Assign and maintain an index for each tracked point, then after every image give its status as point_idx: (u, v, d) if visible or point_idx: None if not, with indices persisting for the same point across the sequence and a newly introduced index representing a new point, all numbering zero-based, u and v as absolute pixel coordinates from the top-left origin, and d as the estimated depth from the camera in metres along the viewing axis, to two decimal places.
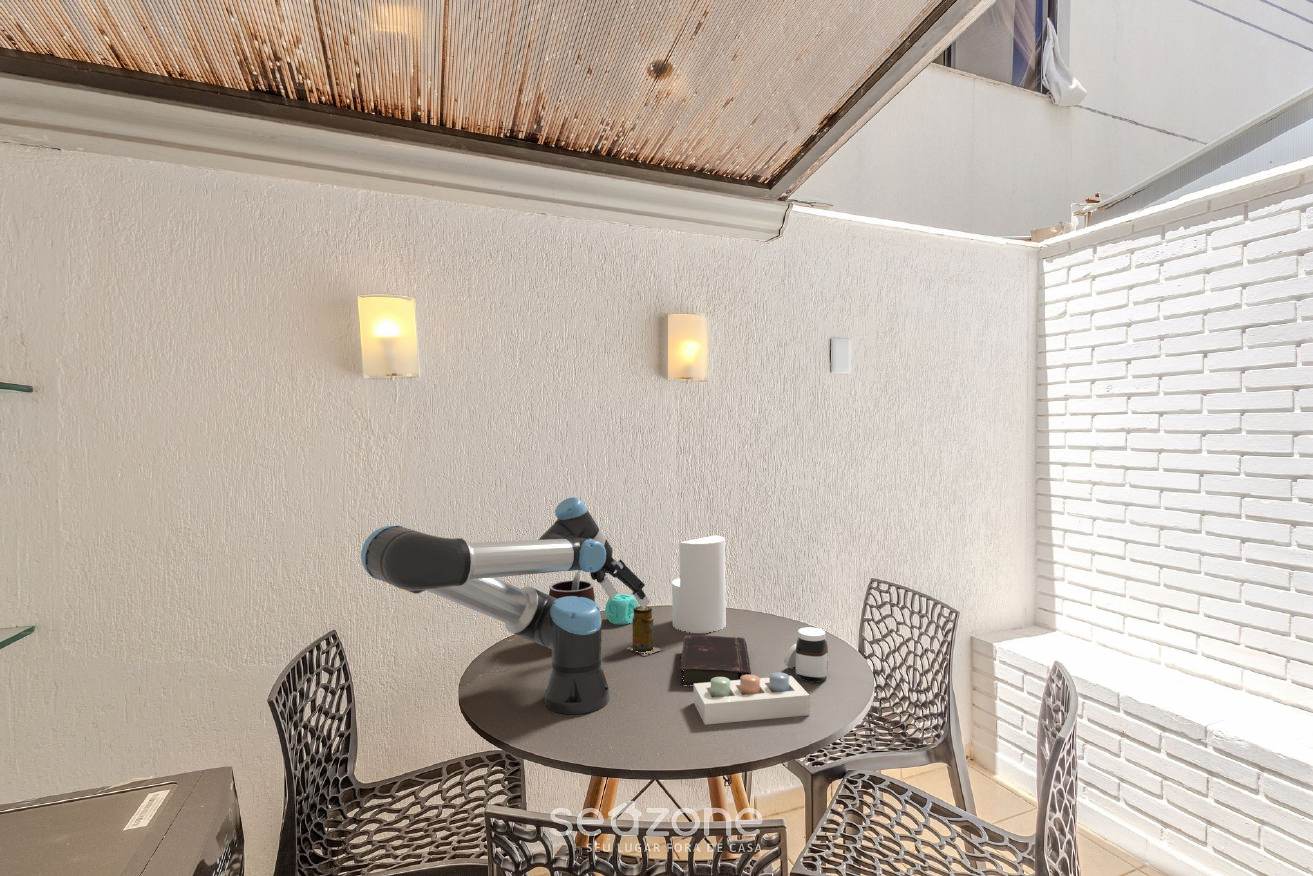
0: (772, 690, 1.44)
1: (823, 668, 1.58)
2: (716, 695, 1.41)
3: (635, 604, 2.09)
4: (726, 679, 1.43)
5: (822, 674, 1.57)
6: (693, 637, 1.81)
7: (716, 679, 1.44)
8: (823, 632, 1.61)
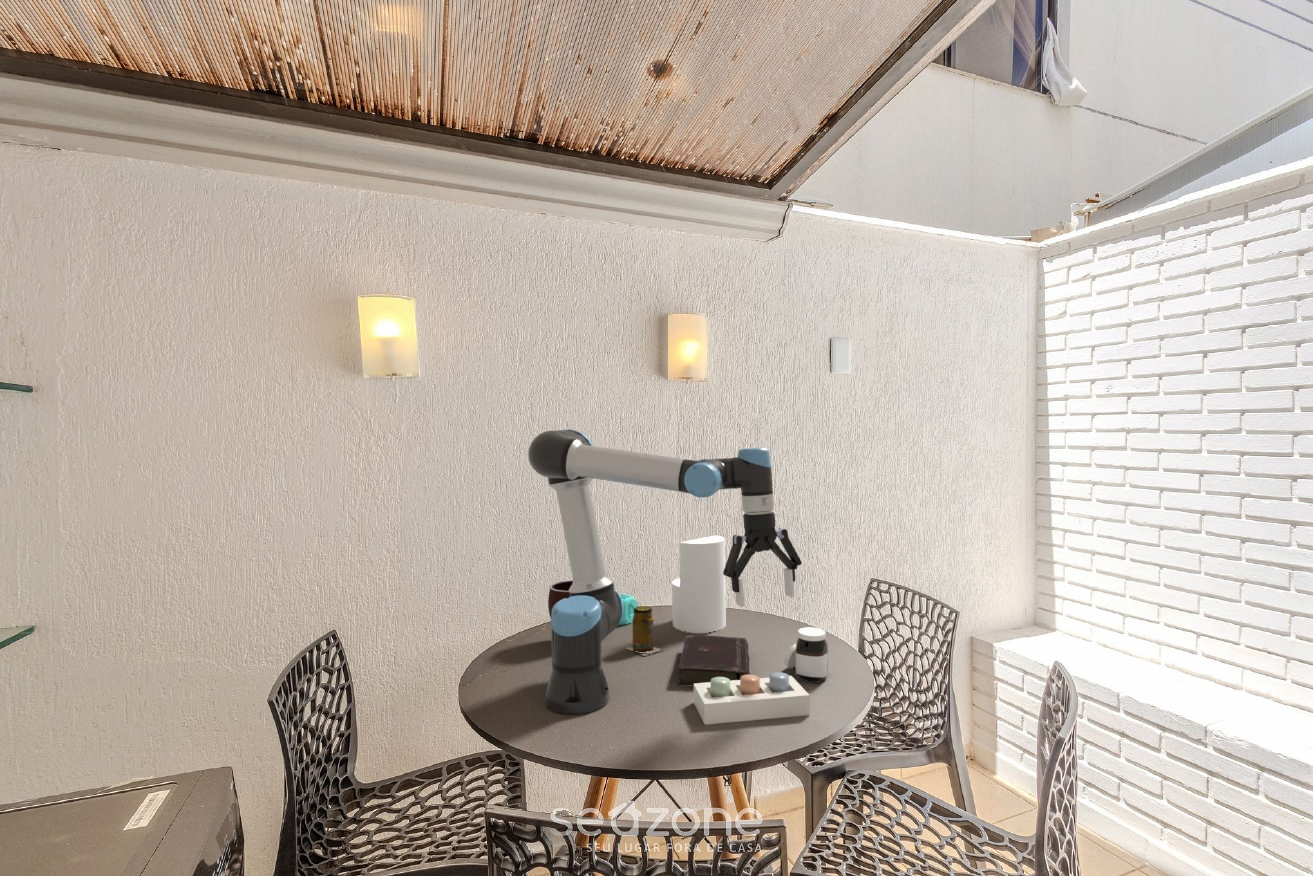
0: (772, 690, 1.44)
1: (823, 668, 1.58)
2: (716, 695, 1.41)
3: (635, 604, 2.09)
4: (726, 679, 1.43)
5: (822, 674, 1.57)
6: (694, 636, 1.81)
7: (716, 679, 1.44)
8: (823, 632, 1.61)
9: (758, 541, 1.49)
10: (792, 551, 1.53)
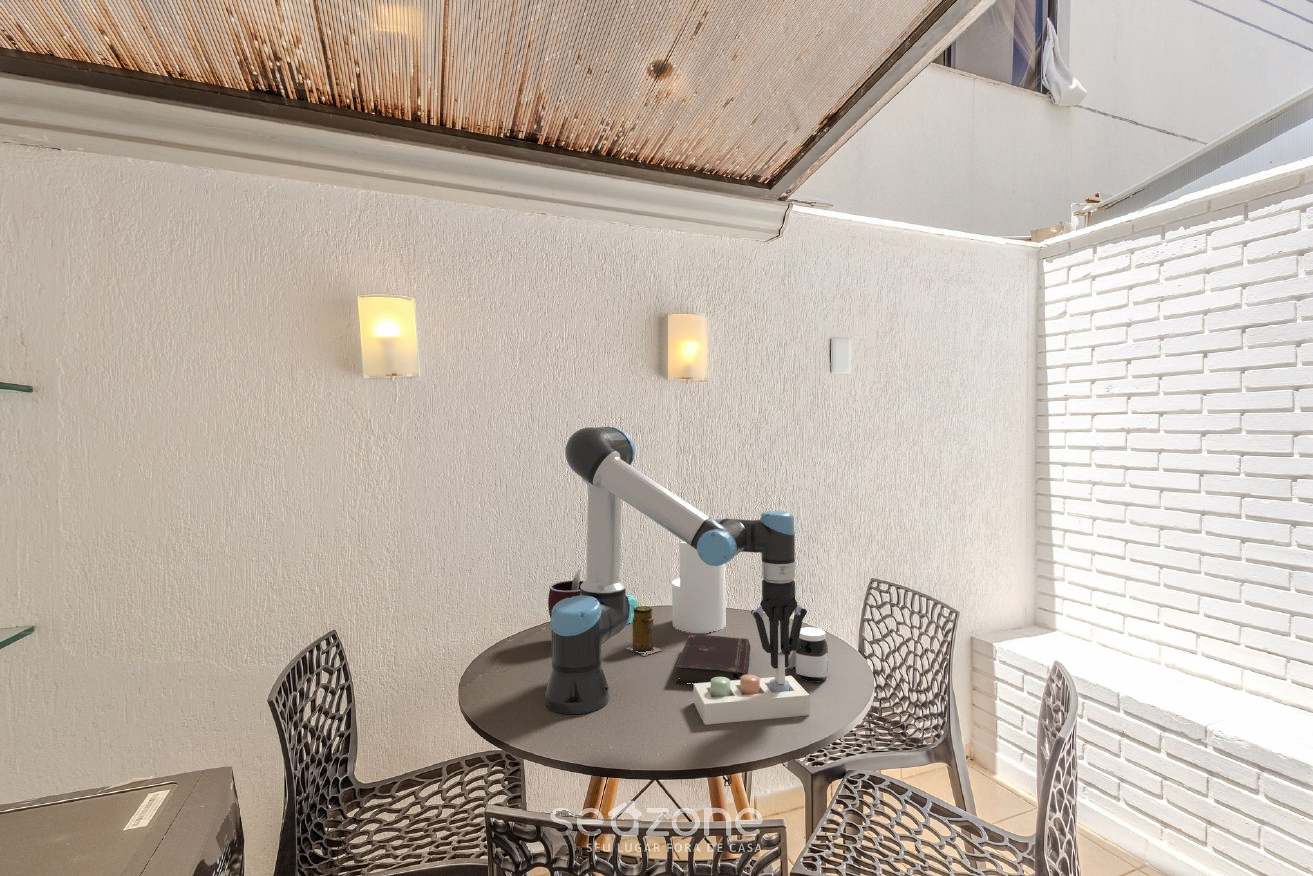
0: None
1: (823, 668, 1.58)
2: (716, 695, 1.41)
3: (635, 604, 2.09)
4: (726, 679, 1.43)
5: (822, 674, 1.57)
6: (696, 636, 1.81)
7: (716, 679, 1.44)
8: (823, 632, 1.61)
9: (775, 612, 1.42)
10: (796, 633, 1.44)
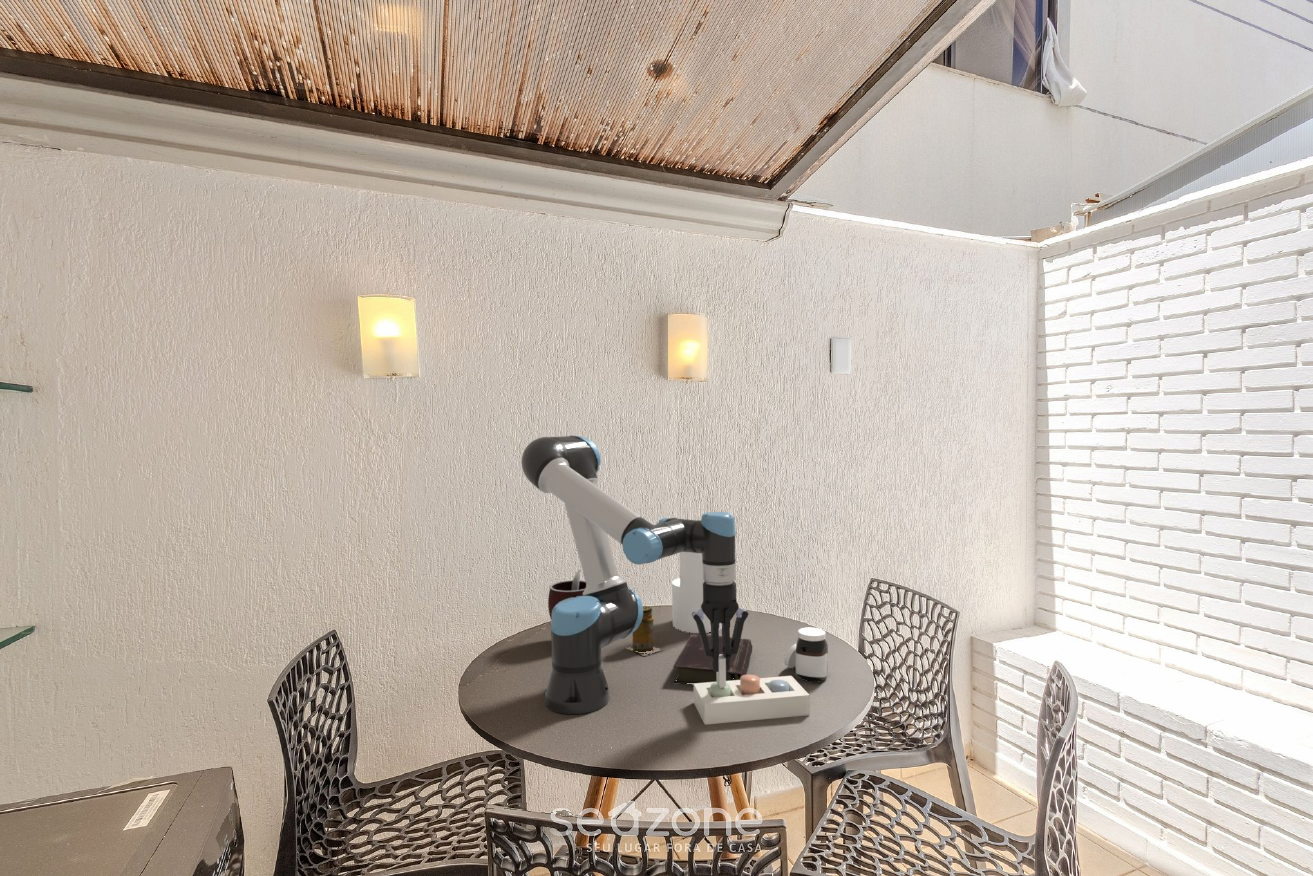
0: None
1: (823, 668, 1.58)
2: None
3: None
4: (726, 684, 1.43)
5: (822, 674, 1.57)
6: (698, 636, 1.81)
7: (716, 684, 1.44)
8: (823, 632, 1.61)
9: (715, 614, 1.40)
10: (737, 636, 1.42)
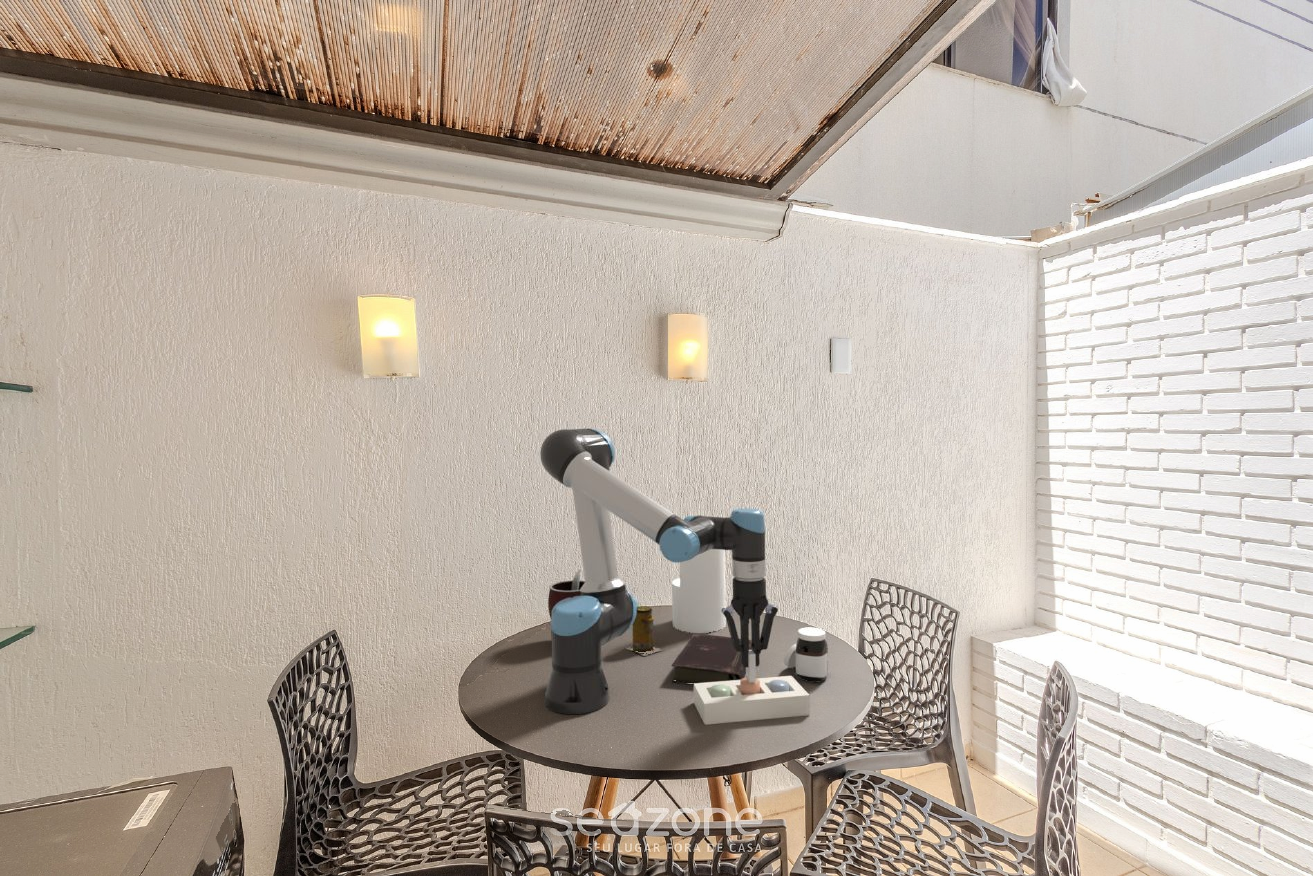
0: None
1: (823, 668, 1.58)
2: None
3: None
4: (726, 687, 1.44)
5: (822, 674, 1.57)
6: (700, 636, 1.81)
7: (716, 687, 1.44)
8: (823, 632, 1.61)
9: (745, 610, 1.41)
10: (767, 631, 1.43)
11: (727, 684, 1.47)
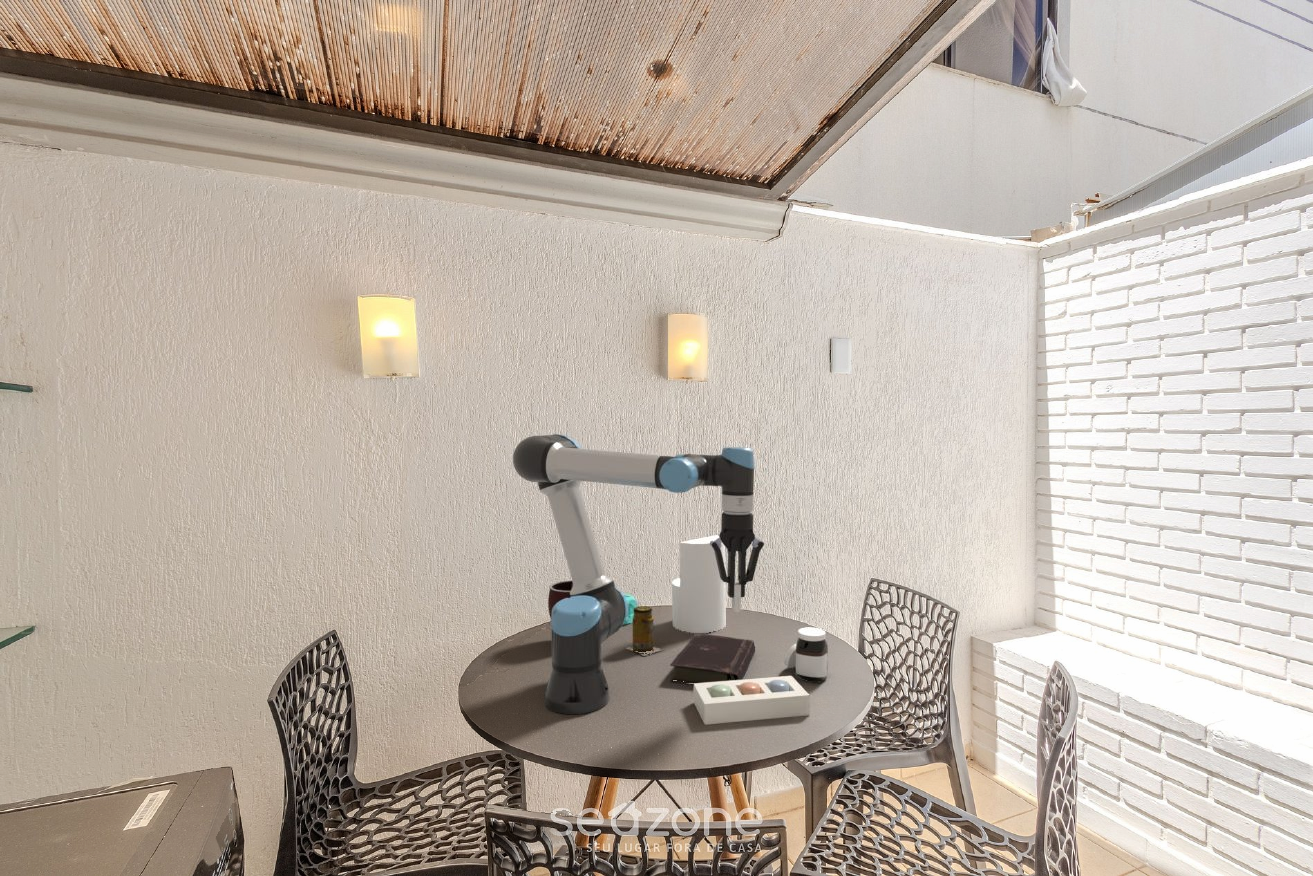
0: None
1: (823, 668, 1.58)
2: None
3: (635, 604, 2.09)
4: (726, 687, 1.44)
5: (822, 674, 1.57)
6: (702, 635, 1.81)
7: (716, 687, 1.44)
8: (823, 632, 1.61)
9: (732, 542, 1.48)
10: (753, 564, 1.49)
11: (727, 684, 1.47)
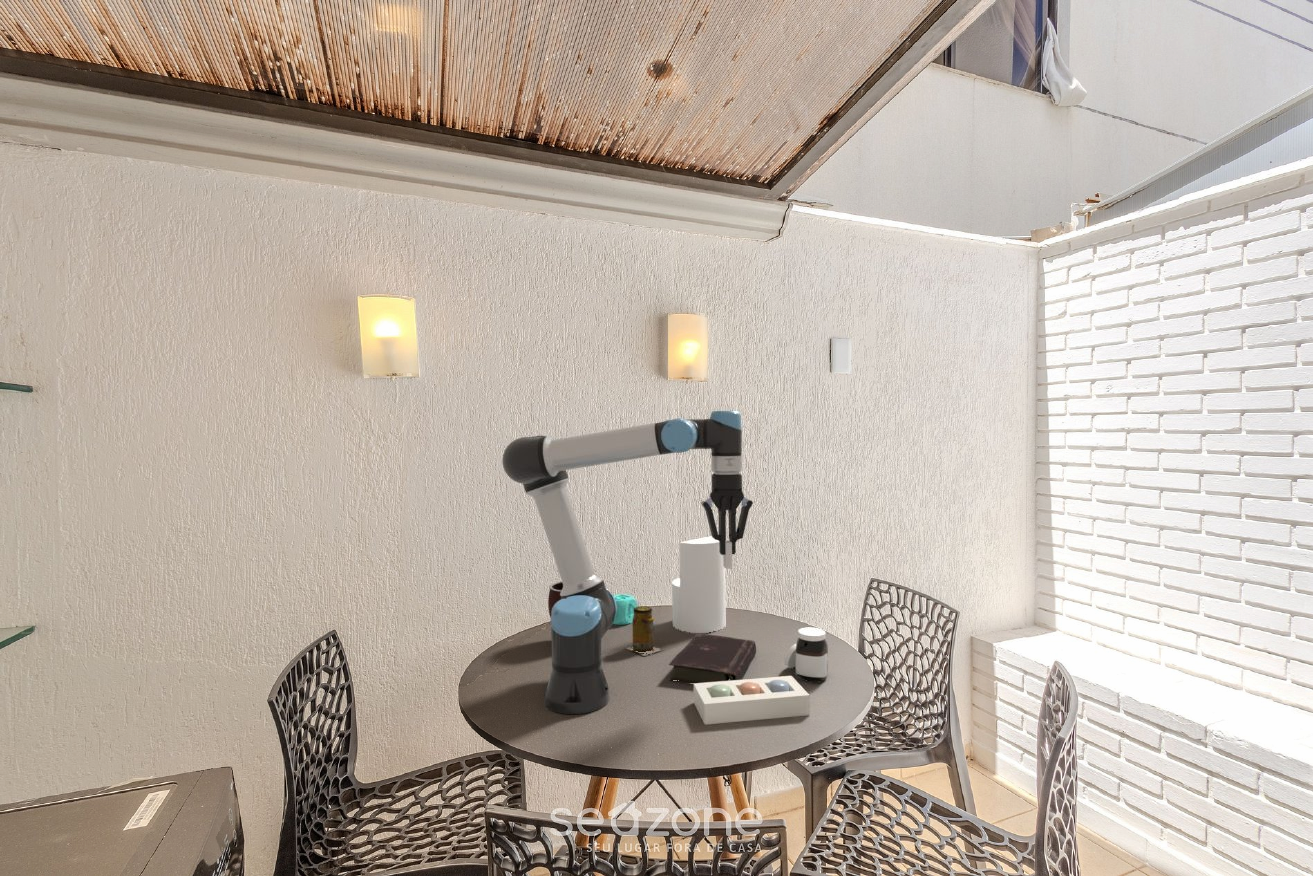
0: None
1: (823, 668, 1.58)
2: None
3: (635, 604, 2.09)
4: (726, 687, 1.44)
5: (822, 674, 1.57)
6: (703, 635, 1.82)
7: (716, 687, 1.44)
8: (823, 632, 1.61)
9: (722, 501, 1.54)
10: (743, 522, 1.56)
11: (727, 684, 1.47)
